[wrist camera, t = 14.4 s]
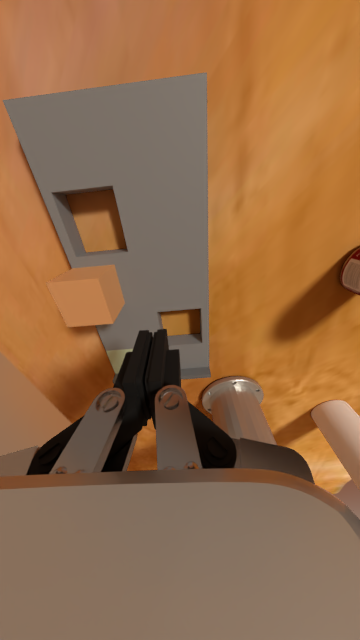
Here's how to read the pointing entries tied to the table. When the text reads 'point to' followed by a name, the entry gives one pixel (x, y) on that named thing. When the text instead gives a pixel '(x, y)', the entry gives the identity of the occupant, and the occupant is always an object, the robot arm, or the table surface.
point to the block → (88, 295)
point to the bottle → (341, 433)
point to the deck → (132, 196)
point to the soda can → (351, 273)
